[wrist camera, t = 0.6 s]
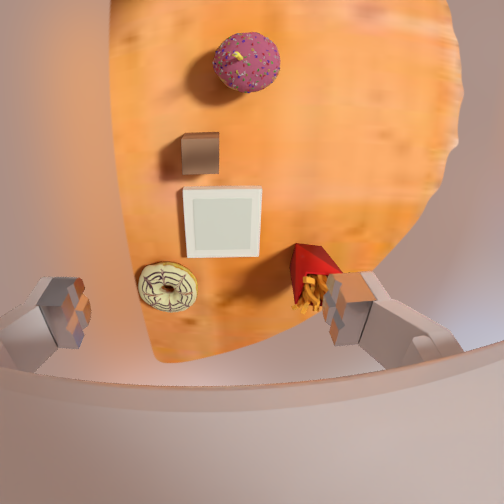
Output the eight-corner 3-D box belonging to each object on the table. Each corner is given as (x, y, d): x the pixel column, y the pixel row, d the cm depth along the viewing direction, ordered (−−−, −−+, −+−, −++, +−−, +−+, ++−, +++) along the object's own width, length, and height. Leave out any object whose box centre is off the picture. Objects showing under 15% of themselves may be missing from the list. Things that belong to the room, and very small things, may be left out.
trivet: (183, 186, 48) (182, 190, 47) (261, 185, 50) (262, 189, 48) (188, 253, 55) (187, 258, 53) (257, 251, 56) (258, 256, 54)
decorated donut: (136, 257, 54) (131, 269, 51) (195, 255, 55) (194, 267, 52) (146, 302, 60) (142, 315, 57) (200, 302, 61) (199, 315, 57)
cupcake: (207, 83, 41) (202, 84, 30) (224, 29, 37) (225, 13, 26) (265, 98, 42) (279, 105, 32) (282, 45, 38) (303, 36, 28)
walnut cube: (185, 132, 44) (181, 139, 40) (219, 132, 45) (218, 138, 40) (186, 164, 47) (182, 174, 43) (219, 164, 47) (218, 173, 43)
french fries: (317, 273, 59) (341, 329, 47) (275, 269, 58) (290, 328, 45) (331, 231, 55) (362, 283, 42) (286, 225, 54) (306, 278, 41)
